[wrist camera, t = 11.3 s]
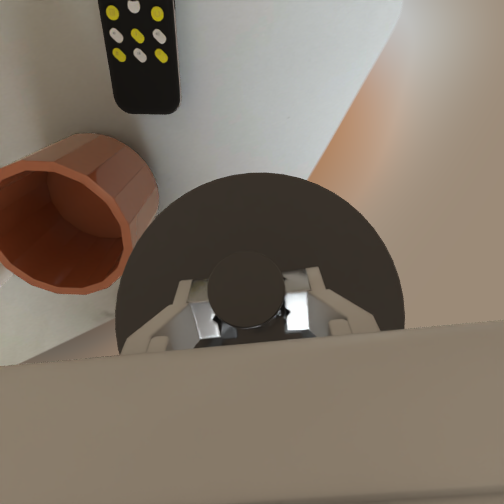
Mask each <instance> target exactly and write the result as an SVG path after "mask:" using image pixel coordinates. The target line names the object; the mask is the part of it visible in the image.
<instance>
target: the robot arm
mask: <svg viewBox="0 0 504 504" xmlns="http://www.w3.org/2000/svg"><path fill="white" fill-rule="evenodd" d="M281 273H282V275H283V278H284V283H285V296H284V308H285V314H286V323H287V329H288V331H289V330H304V329H309V330H310V331H311V332H312V333H313V334H314V335H315V336H316V337H313V338H302V339H291V340H280V341H269V342H259V343H248V344H237V345H226V346H215V347H204V348H194V347H195V346H196V344H197V343H198V342H199V341H200V340H199V339H207V338H215V337H221V328H222V324H221V320H220V319H219V318H218V317H217V316H216V314H215V313H214V312H213V310H212V308H211V306H210V304H209V301H208V296H207V285H208V280H209V278H205V279H193V280H182V281H180V282H179V285H178V288H177V291H176V295H175V298H174V301H173V305H168V306H167V307H166V308H165V309H163V310H162V311H161V312H160V313H158V314H157V315H156V316H155V317H153V318H152V319H151V320H149V321H148V322H147V323H146V324H144V325H143V326H142V327H141V328H139V329H138V330H137V331H136V332H134V333H133V334H132V335H130V336H129V337H128V338H127V339H126V342H125V344H124V346H123V349H122V351H121V353H120V355H117V356H107V357H97V358H85V359H74V360H63V361H53V362H41V363H31V364H20V365H9V366H0V504H504V320H498V321H487V322H477V323H465V324H454V325H443V326H432V327H422V328H411V329H400V330H389V331H380V329H379V327H378V325H377V323H376V321H375V319H374V316H373V315H372V314H370V313H368V312H367V311H365V310H363V309H362V308H360V307H358V306H357V305H355V304H353V303H352V302H350V301H348V300H347V299H345V298H343V297H342V296H340V295H338V294H337V293H335V292H333V291H332V290H330V289H326V288H325V285H324V282H323V279H322V276H321V273H320V270H319V267H310V268H304V269H296V270H288V271H281Z"/></svg>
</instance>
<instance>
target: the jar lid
mask: <svg viewBox="0 0 504 504" xmlns="http://www.w3.org/2000/svg"><path fill="white" fill-rule="evenodd" d="M310 267H319V270H320V273H321V276H322V279H323V282H324V285H325V288H326V289H330V290H332V291H333V292H335V293H337V294H338V295H340V296H342V297H343V298H345V299H347V300H348V301H350V302H352V303H353V304H355V305H357V306H358V307H360V308H362V309H363V310H365V311H367V312H368V313H370V314H372V315H373V316H374V319H375V321H376V323H377V325H378V327H379V329H380V331H389V330H400V329H404V325H405V311H404V300H403V293H402V289H401V284H400V280H399V276H398V273H397V271H396V268H395V265H394V262H393V260H392V258H391V256H390V254H389V252H388V250H387V248H386V246H385V244H384V243H383V241H382V240H381V238H380V237H379V235H378V234H377V232H376V231H375V229H374V228H373V227H372V226H371V225H370V224H369V223H368V221H367V220H366V219H365V218H364V217H363V216H362V215H361V213H359V212H358V211H357V210H356V209H355V208H354V207H352V206H351V205H350V204H349V203H348V202H346V201H345V200H344V199H342V198H341V197H339V196H338V195H336V194H335V193H333V192H331V191H329V190H327V189H325V188H323V187H321V186H320V185H318V184H315V183H312V182H309V181H307V180H304V179H301V178H297V177H293V176H288V175H284V174H275V173H245V174H238V175H232V176H228V177H224V178H220V179H216V180H214V181H211V182H208V183H206V184H203V185H201V186H199V187H197V188H195V189H193V190H191V191H189V192H188V193H186V194H184V195H183V196H181V197H180V198H178V199H177V200H176V201H174V202H173V203H171V204H170V205H169V206H168V207H167V208H166V209H164V210H163V211H162V212H161V213H160V214H159V215H158V216H157V217H156V218H155V219H154V220H153V222H152V223H151V224H150V225H149V226H148V227H147V228H146V230H145V231H144V233H143V234H142V236H141V237H140V238H139V240H138V241H137V243H136V245H135V247H134V249H133V250H132V252H131V254H130V256H129V258H128V261H127V263H126V266H125V268H124V271H123V274H122V277H121V281H120V285H119V289H118V293H117V302H116V310H115V322H116V323H115V325H116V328H115V330H116V337H117V345H118V350H119V354H120V353H121V351H122V349H123V346H124V344H125V342H126V339H127V338H128V337H129V336H130V335H132V334H133V333H134V332H136V331H137V330H138V329H139V328H141V327H142V326H143V325H144V324H146V323H147V322H148V321H149V320H151V319H152V318H153V317H155V316H156V315H157V314H158V313H160V312H161V311H162V310H163V309H165V308H166V307H167V306H168V305H173V301H174V298H175V295H176V291H177V288H178V285H179V282H180V281H182V280H193V279H205V278H209V280H208V285H207V296H208V301H209V304H210V306H211V308H212V310H213V312H214V313H215V314H216V316H217V317H218V318H219V319H220V320H221V324H222V328H221V337H215V338H207V339H199V340H200V341H199V342H198V343H197V344H196V346H195V347H194V348H204V347H215V346H226V345H237V344H248V343H259V342H269V341H280V340H291V339H302V338H313V337H316V336H315V335H314V334H313V333H312V332H311V331H310V330H309V329H304V330H289V331H288V329H287V323H286V314H285V308H284V296H285V283H284V278H283V275H282V273H281V271H288V270H296V269H304V268H310Z"/></svg>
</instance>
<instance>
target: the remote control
mask: <svg viewBox="0 0 504 504" xmlns="http://www.w3.org/2000/svg"><path fill="white" fill-rule="evenodd" d="M98 4H99V10H100V16H101V22H102V28H103V34H104V40H105V46H106V52H107V58H108V64H109V70H110V76H111V82H112V88H113V94H114V98H115V101H116V103H117V105H118V106H119V107H120V108H121V109H122V110H123V111H125V112H127V113H130V114H171V113H173V112H174V111H176V110H177V109H178V107H179V106H180V103H181V83H180V70H179V57H178V44H177V31H176V18H175V0H98Z"/></svg>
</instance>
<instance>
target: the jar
mask: <svg viewBox="0 0 504 504" xmlns="http://www.w3.org/2000/svg"><path fill="white" fill-rule="evenodd" d="M158 204H159V193H158V187H157V184H156V180H155V178H154V176H153V173H152V172H151V170H150V168H149V167H148V165H147V164H146V163H145V161H144V160H143V159H142V158H141V157H140V156H139V155H138V154H137V153H136V152H135V151H134V150H133V149H132V148H130V147H129V146H127V145H126V144H124V143H122V142H120V141H119V140H117V139H114V138H112V137H109V136H105V135H101V134H95V133H82V134H74V135H72V136H69V137H67V138H64V139H62V140H59V141H57V142H55V143H53V144H50V145H48V146H46V147H44V148H42V149H40V150H38V151H35V152H33V153H31V154H29V155H27V156H25V157H23V158H20V159H18V160H16V161H14V162H12V163H10V164H8V165H5V166H3V167H1V168H0V262H1V263H2V265H3V266H4V267H6V269H8V270H9V271H11V272H12V273H14V274H15V275H17V276H18V277H20V278H21V279H23V280H24V281H26V282H27V283H29V284H31V285H33V286H36V287H39V288H42V289H45V290H48V291H51V292H54V293H57V294H58V293H59V294H79V295H87V294H90V293H93V292H96V291H99V290H102V289H106V288H108V287H110V286H111V285H112V284H113V283H114V282H115V281H116V280H117V279H118V278H120V277H121V276H122V274H123V271H124V268H125V266H126V263H127V261H128V258H129V256H130V254H131V252H132V250H133V249H134V247H135V245H136V243H137V241H138V240H139V238H140V237H141V236H142V234H143V233H144V231H145V230H146V228H147V227H148V226H149V225H150V224H151V223H152V222H153V220H154V218H155V216H156V213H157V210H158V207H159V205H158Z"/></svg>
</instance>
